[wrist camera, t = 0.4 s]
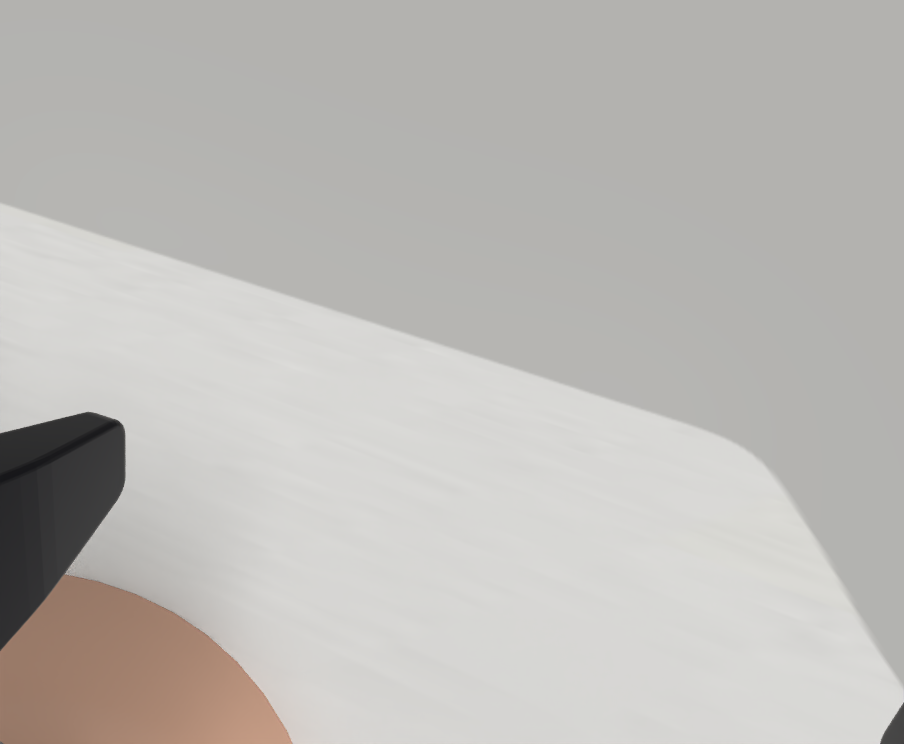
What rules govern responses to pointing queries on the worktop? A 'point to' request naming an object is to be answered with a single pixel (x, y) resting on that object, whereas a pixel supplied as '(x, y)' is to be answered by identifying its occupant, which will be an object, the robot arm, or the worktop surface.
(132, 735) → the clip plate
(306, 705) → the worktop surface
